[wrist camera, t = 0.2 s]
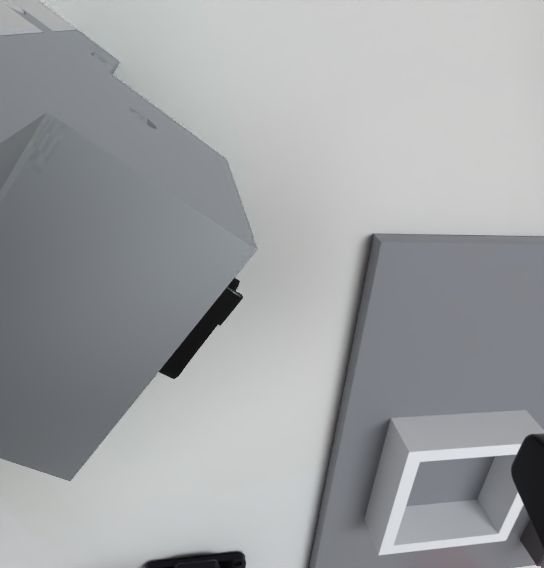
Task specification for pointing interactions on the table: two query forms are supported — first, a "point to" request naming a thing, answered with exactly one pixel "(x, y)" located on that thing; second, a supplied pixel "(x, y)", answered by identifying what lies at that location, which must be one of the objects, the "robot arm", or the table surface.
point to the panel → (438, 407)
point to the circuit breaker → (98, 242)
